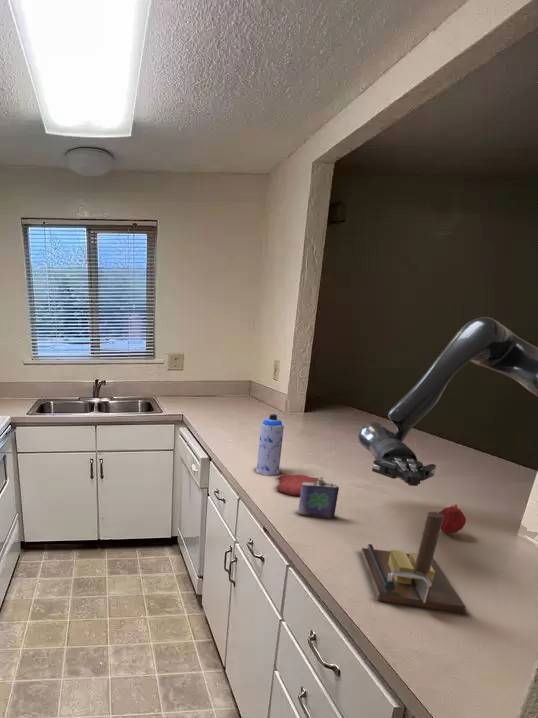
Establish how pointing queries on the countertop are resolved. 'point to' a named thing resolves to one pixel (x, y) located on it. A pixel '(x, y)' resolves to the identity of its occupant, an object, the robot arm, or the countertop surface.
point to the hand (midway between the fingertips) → (414, 481)
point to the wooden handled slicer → (422, 557)
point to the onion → (452, 519)
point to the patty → (293, 483)
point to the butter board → (409, 591)
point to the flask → (318, 499)
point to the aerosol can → (270, 446)
